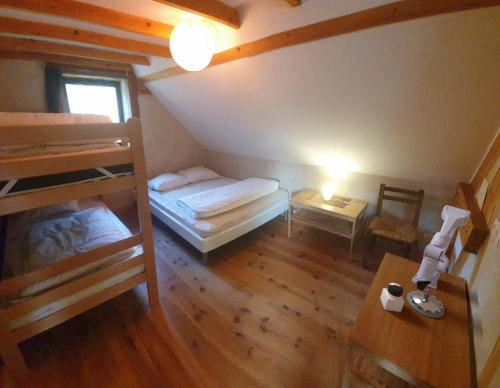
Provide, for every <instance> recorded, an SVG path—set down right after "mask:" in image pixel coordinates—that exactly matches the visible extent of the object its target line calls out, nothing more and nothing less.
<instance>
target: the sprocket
mask: <svg viewBox="0 0 500 388" xmlns="http://www.w3.org/2000/svg"><path fill="white" fill-rule="evenodd" d="M411 291H412V293H410V296H409V297H412V298H410V300H411V302H414V303H415V306H416V307H417V308H418V307H420V308H421V309H422V311H424V312H426V311H428V312H430V313H431V314H435V312H437V313H438V314H439V313H441V310H443V307H444V306H443V307H442V306H440V305H441V304H442V302H441V301H440V300H438V299H437V297H436V296H434V295H431V292H432V289H431V288H429V287H426V290H425V292H424V291H419V290H418V289H417V290H411ZM416 291H417V292H416ZM436 299H437V300H438V301H437V300H436ZM442 305H443V304H442Z"/></svg>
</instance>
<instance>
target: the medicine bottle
mask: <svg viewBox="0 0 500 388" xmlns="http://www.w3.org/2000/svg"><path fill="white" fill-rule="evenodd" d="M403 294H404V288H403V287H402V286H401V285H400V284H398V283H395V282H391V283H389V284H388V285H387V288H382V291H381V295H380V301H381V304H382V307H383V309H384V310H385V311H389V312H390V311H392V312H397V313H402V311H403V307H404V304H405V299H404V297H403Z"/></svg>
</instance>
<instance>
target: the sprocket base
mask: <svg viewBox="0 0 500 388" xmlns="http://www.w3.org/2000/svg"><path fill="white" fill-rule="evenodd" d="M412 291H413V290H411V291H409V292H408V293H407V294H406V298H405V299H406V302H407V303H408V305H409V306H410V307H411V308H412V310H414V311H416V312H417V313H419V314H421V315H422V316H425V317H427V318H431V319H439V318H442V317H443V316H444V314H445V307H444V306H443V305H444V304H441V305H440V306H442V307H443V310H441V313H439V314H438V313H437V312H435V314H431V313H430V312H428V311H426V312H424V311H422V309H421V308H420V307H418V308H417V307H416V306H415V303H414V302H411V300H410V298H412V297H409V296H410V293H412ZM415 291H416V292H417V290H415ZM436 300H437V301H439V300H438V299H437V298H436Z"/></svg>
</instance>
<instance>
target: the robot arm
mask: <svg viewBox="0 0 500 388" xmlns="http://www.w3.org/2000/svg"><path fill="white" fill-rule="evenodd" d="M471 214H472V212H471V211H470V210H466V209H463V208H458V207H456V206H452V205H448V204H446V205H445V206H444V207H443V209H442V211H441V214H440V216H441V217H440V218H441V220H442V221H443V224H442V226H441V229H440V231H438V232H435V233H434V236H433V237H432V239H431V240H430V242H429V243H428V244H427V245H426V247H425V248H424V251H423V256H422V258H423V259H422V261H421V264H420V267H419V268H418V271H417V272H416V274H415V276H413V277H412V278H411V282H412V283H414V284H416V289H417V290H419V291H421V292H424V290H425V289H427V287H428V288H429V287H430V288H433V289H435V290H436V289H437V286H438V280H439V278H440V276H441V274H445V273H446V270H447V268H448V266H449V262H450V260H449V258H448V256H447V255H446V252H447V250H448V248H449V245H451V244H450V243H451V241H452V239H453V238H454V235H455V232H456V230H457V229H458V228H459V227H465V226H466V225H467V223H468V221H469V219H470V217H471Z"/></svg>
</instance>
